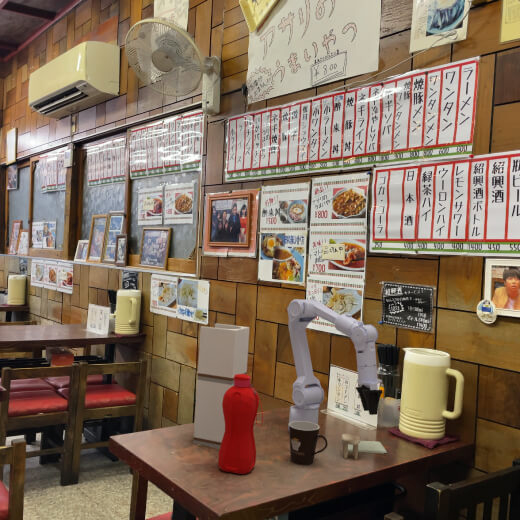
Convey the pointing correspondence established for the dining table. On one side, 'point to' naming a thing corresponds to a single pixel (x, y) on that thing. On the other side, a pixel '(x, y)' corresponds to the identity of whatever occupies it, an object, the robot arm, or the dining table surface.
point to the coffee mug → (304, 442)
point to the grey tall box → (217, 378)
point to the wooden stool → (351, 440)
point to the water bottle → (239, 426)
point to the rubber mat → (368, 447)
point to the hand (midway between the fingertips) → (370, 412)
